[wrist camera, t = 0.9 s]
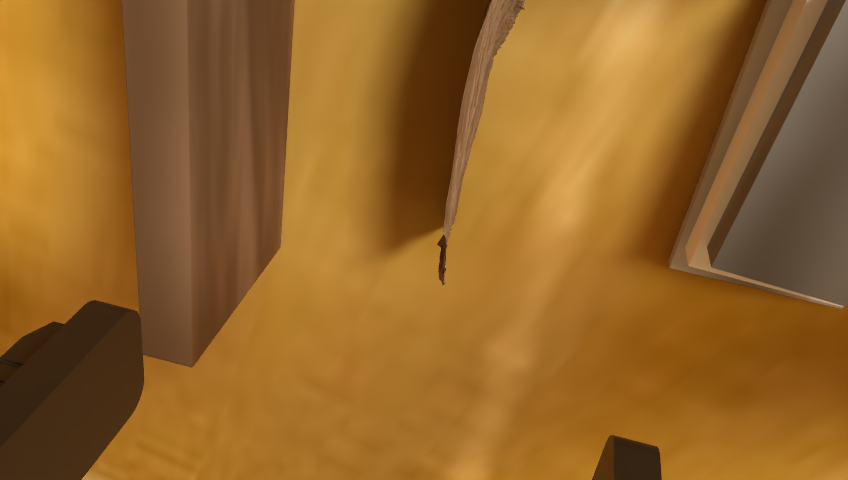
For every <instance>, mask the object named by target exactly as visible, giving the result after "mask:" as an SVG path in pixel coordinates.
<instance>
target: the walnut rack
mask: <svg viewBox="0 0 848 480" xmlns="http://www.w3.org/2000/svg"><path fill="white" fill-rule="evenodd" d="M122 15H123V33H124V50H125V67H126V84H127V102H128V119H129V136H130V153H131V171H132V188H133V205H134V222H135V239H136V257H137V274H138V291H139V308H140V319H141V332H142V350H143V355H146V356H150V357H154V358H157V359H161V360H165V361H169V362H173V363H176V364H180V365H184V366H188V367H193V366H194V365H195V363H196V362H197V360H198V359H199V358H200V356H201V355H202V354H203V352H204V351H205V350H206V348H207V347H208V345H209V344H210V343H211V341H212V340H213V339H214V337H215V336H216V335H217V333H218V332H219V330H220V329H221V328H222V326H223V325H224V324H225V322H226V321H227V319H228V318H229V317H230V315H231V314H232V313H233V311H234V310H235V309H236V307H237V306H238V304H239V303H240V302H241V300H242V299H243V298H244V296H245V295H246V294H247V292H248V291H249V289H250V288H251V287H252V285H253V284H254V283H255V281H256V280H257V279H258V277H259V276H260V274H261V273H262V272H263V270H264V269H265V268H266V266H267V265H268V263H269V262H270V261H271V259H272V258H273V257H274V255H275V254H276V253H277V251H278V250H279V248H280V243H281V226H282V209H283V191H284V174H285V156H286V139H287V121H288V104H289V87H290V69H291V52H292V34H293V17H294V0H122Z"/></svg>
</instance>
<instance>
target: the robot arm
mask: <svg viewBox="0 0 848 480" xmlns="http://www.w3.org/2000/svg"><path fill="white" fill-rule="evenodd" d="M143 385H144V368H143V350H142V332H141V319H140V315H139V314H138V312H137V311H135V310H131V309H127V308H123V307H119V306H115V305H111V304H108V303H104V302H100V301H96V300H93V301H90V302H88V303H87V304H85V305H84V306H83V307H82V308H81V309H80V310H79V311H78V312H77V313H76V314H75V315H74V316H73V317H72V318H71V319H70V320H69V321H68V322H67V323H66V324H61V323H57V322H52V323H50V324H48V325H46V326H44V327H42V328H40V329H38V330H36V331H34V332H32V333H29V334H27V335H25V336H23V337H22V338H21V339H20V340H19V341H18V342H17V343H15V344H14V345H13V346H12V347H11V348H10V349H9V350H8V351H7V352H6V353H5V354H4V355H2V356H1V357H0V480H82V478H83V477H84V476H85V474H86V473H87V472H88V471H89V469H90V468H91V467H92V465H93V464H94V463H95V461H96V460H97V459H98V458H99V456H100V455H101V454H102V452H103V451H104V450H105V449H106V447H107V446H108V445H109V443H110V442H111V441H112V439H113V438H114V437H115V436H116V434H117V433H118V432H119V430H120V429H121V428H122V427H123V425H124V424H125V423H126V421H127V420H128V419H129V417H130V416H131V415H132V413H133V412H134V410H135V408H136V406H137V404H138V402H139V400H140V397H141V394H142V390H143ZM592 480H662V478H661V464H660V453H659V449H658V447H656V446H652V445H649V444H645V443H641V442H637V441H633V440H629V439H625V438H621V437H617V436H614V435H610V436H609V438H608V440H607V442H606V444H605V447H604V449H603V452H602V455H601V457H600V460H599V463H598V465H597V468H596V470H595V473H594V476H593V478H592Z"/></svg>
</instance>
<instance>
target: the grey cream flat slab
mask: <svg viewBox="0 0 848 480" xmlns="http://www.w3.org/2000/svg"><path fill="white" fill-rule="evenodd" d="M792 1H793V0H767V1H766V4H765V6H764V9H763V12H762V14H761V17H760V20H759V22H758V25H757V27H756V30H755V33H754V35H753V38H752V41H751V43H750V46H749V49H748V51H747V54H746V57H745V59H744V62H743V64H742V67H741V70H740V72H739V75H738V78H737V80H736V83H735V86H734V88H733V91H732V93H731V96H730V99H729V101H728V104H727V107H726V109H725V112H724V115H723V117H722V120H721V122H720V125H719V128H718V130H717V133H716V136H715V138H714V141H713V144H712V146H711V149H710V152H709V154H708V157H707V159H706V162H705V165H704V167H703V170H702V173H701V175H700V178H699V181H698V183H697V186H696V188H695V191H694V194H693V196H692V199H691V202H690V204H689V207H688V210H687V212H686V215H685V218H684V220H683V223H682V225H681V228H680V231H679V233H678V236H677V239H676V241H675V244H674V247H673V249H672V252H671V254H670V257H669V268H671V269H676V270H680V271H684V272H688V273H692V274H696V275H701V276H705V277H709V278H713V279H717V280H722V281H726V282H730V283H734V284H738V285H743V286H747V287H751V288H755V289H759V290H764V291H768V292H772V293H776V294H780V295H785V296H789V297H793V298H797V299H801V300H806V301H810V302H814V303H818V304H822V305H827V306H831V307H835V308H839V309H843V307H839V306H836V305H832V304H828V303H824V302H821V301H817V300H813V299H810V298H806V297H802V296H798V295H795V294H791V293H787V292H783V291H780V290H776V289H772V288H769V287H765V286H761V285H757V284H754V283H750V282H746V281H742V280H739V279H735V278H731V277H728V276H724V275H720V274H716V273H713V272H709V271H705V270H701V269H698V268H694V267H690V266H688V261H687V254H686V248H685V246H686V244H687V242H688V240H689V237H690V235H691V233H692V230H693V228H694V226H695V223H696V221H697V219H698V217H699V214H700V212H701V210H702V207H703V205H704V203H705V201H706V198H707V196H708V194H709V191H710V189H711V187H712V184H713V182H714V180H715V178H716V175H717V173H718V171H719V168H720V166H721V164H722V161H723V159H724V157H725V155H726V152H727V150H728V148H729V145H730V143H731V141H732V138H733V136H734V134H735V132H736V129H737V127H738V125H739V122H740V120H741V118H742V116H743V113H744V111H745V109H746V106H747V104H748V102H749V99H750V97H751V95H752V93H753V90H754V88H755V86H756V83H757V81H758V79H759V76H760V74H761V72H762V70H763V67H764V65H765V63H766V60H767V58H768V56H769V54H770V51H771V49H772V47H773V44H774V42H775V40H776V37H777V35H778V33H779V31H780V28H781V26H782V24H783V21H784V19H785V17H786V15H787V12H788V10H789V8H790V5H791V3H792Z"/></svg>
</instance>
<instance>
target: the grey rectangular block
mask: <svg viewBox="0 0 848 480" xmlns="http://www.w3.org/2000/svg"><path fill="white" fill-rule="evenodd" d="M707 250H708V255H709V259H710V264H711V268H715V269H718V270H722V271H725V272H729V273H732V274H735V275H739V276H742V277H746V278H749V279H752V280H756V281H759V282H763V283H766V284H770V285H773V286H776V287H780V288H783V289H787V290H790V291H793V292H797V293H800V294H804V295H807V296H811V297H814V298H817V299H821V300H824V301H828V302H831V303H834V304H838V305H841V306H845V307H847V306H848V0H828V2H827V4H826V6H825V8H824V10H823V12H822V14H821V16H820V18H819V20H818V22H817V24H816V26H815V28H814V30H813V32H812V34H811V36H810V38H809V40H808V42H807V44H806V46H805V48H804V50H803V52H802V54H801V56H800V58H799V60H798V63H797V65H796V67H795V69H794V71H793V73H792V75H791V77H790V79H789V81H788V83H787V85H786V87H785V89H784V91H783V93H782V95H781V97H780V99H779V101H778V103H777V105H776V107H775V109H774V111H773V113H772V115H771V117H770V119H769V122H768V124H767V126H766V128H765V130H764V132H763V134H762V136H761V138H760V140H759V142H758V144H757V146H756V148H755V150H754V152H753V154H752V156H751V158H750V160H749V162H748V164H747V166H746V168H745V170H744V172H743V174H742V176H741V178H740V180H739V183H738V185H737V187H736V189H735V191H734V193H733V195H732V197H731V199H730V201H729V203H728V205H727V207H726V209H725V211H724V213H723V215H722V217H721V219H720V221H719V223H718V225H717V227H716V229H715V231H714V233H713V235H712V237H711V239H710V242H709V244H708V246H707Z"/></svg>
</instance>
